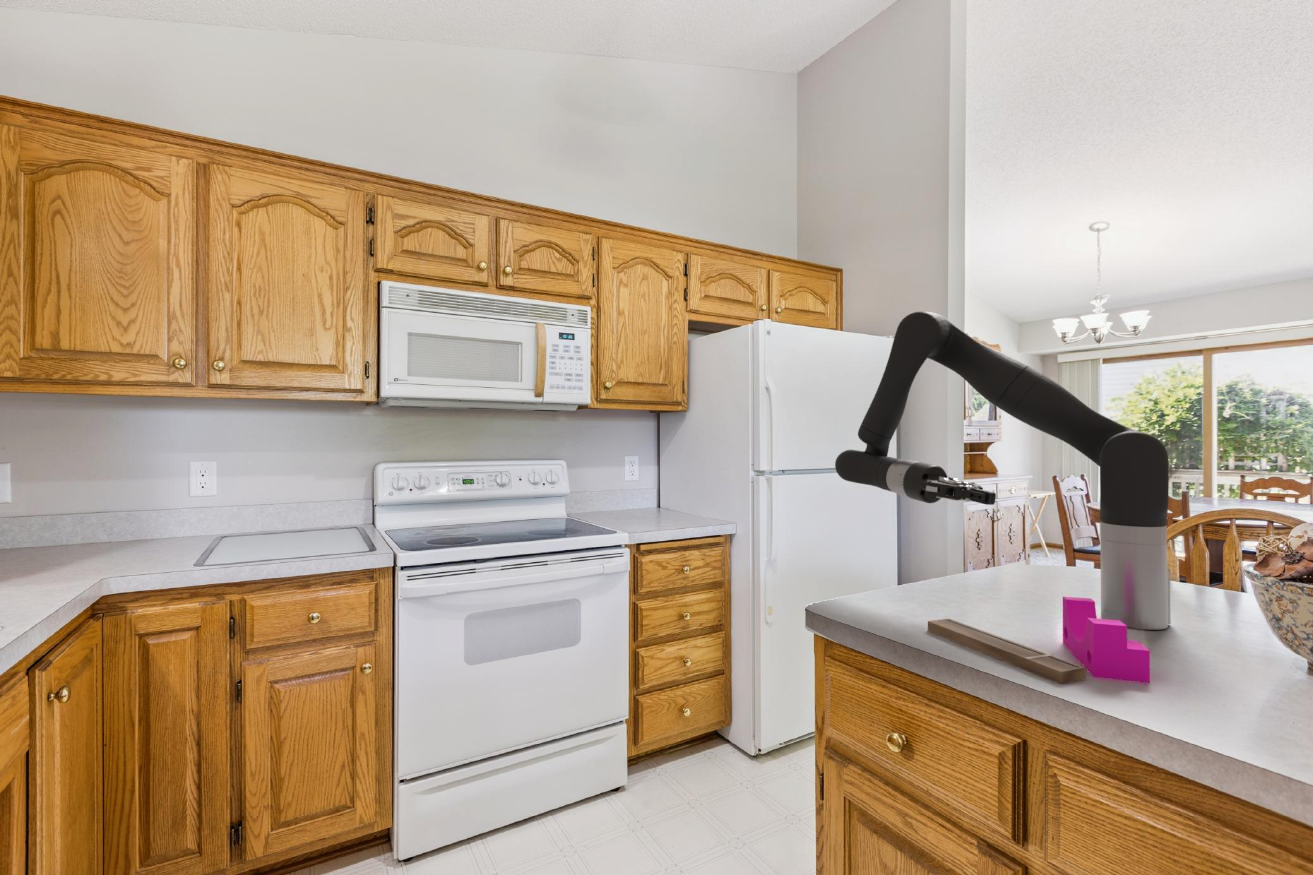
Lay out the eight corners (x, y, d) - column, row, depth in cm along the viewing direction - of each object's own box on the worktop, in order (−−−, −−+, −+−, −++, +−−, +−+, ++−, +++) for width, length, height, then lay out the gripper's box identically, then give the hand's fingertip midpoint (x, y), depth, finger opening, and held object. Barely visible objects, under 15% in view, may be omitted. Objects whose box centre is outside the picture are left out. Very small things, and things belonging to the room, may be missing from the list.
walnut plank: (949, 628, 106) (949, 618, 106) (1086, 679, 83) (1086, 666, 83) (927, 630, 104) (927, 620, 104) (1060, 684, 81) (1060, 670, 81)
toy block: (1150, 685, 82) (1149, 627, 82) (1093, 679, 84) (1093, 623, 84) (1110, 648, 96) (1109, 599, 96) (1062, 644, 98) (1062, 596, 98)
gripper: (893, 460, 121) (968, 476, 106) (942, 463, 127) (1021, 479, 111) (888, 498, 122) (962, 520, 106) (937, 499, 127) (1015, 520, 112)
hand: (992, 499), depth 109 cm, fingers closed
